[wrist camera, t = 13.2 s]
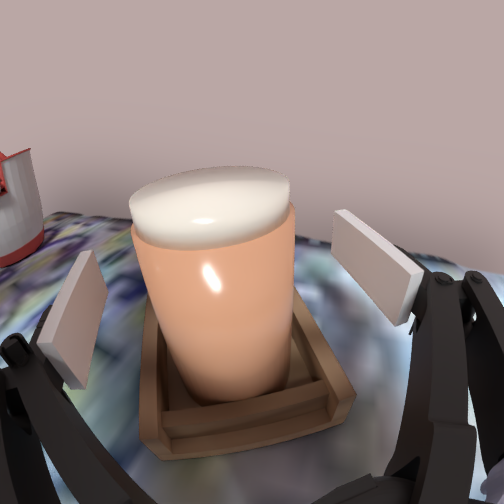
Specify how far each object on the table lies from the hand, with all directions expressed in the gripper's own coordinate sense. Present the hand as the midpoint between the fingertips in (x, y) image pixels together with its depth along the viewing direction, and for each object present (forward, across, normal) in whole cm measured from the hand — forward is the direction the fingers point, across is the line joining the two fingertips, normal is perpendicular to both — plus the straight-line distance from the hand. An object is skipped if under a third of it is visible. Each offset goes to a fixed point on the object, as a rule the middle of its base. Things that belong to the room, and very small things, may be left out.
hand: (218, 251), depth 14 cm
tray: (+4, 0, -9) cm, 10 cm away
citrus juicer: (+28, -35, -9) cm, 46 cm away
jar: (-1, 0, -8) cm, 8 cm away
